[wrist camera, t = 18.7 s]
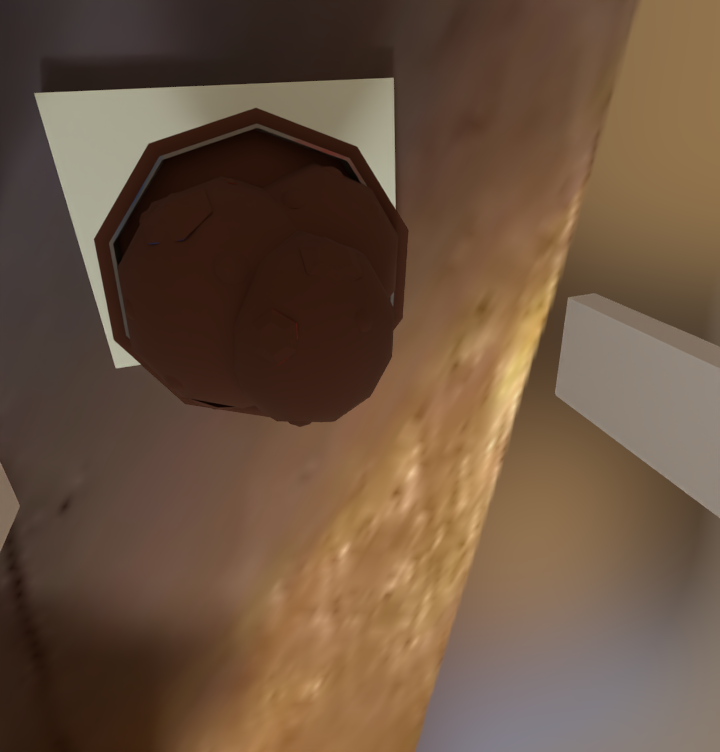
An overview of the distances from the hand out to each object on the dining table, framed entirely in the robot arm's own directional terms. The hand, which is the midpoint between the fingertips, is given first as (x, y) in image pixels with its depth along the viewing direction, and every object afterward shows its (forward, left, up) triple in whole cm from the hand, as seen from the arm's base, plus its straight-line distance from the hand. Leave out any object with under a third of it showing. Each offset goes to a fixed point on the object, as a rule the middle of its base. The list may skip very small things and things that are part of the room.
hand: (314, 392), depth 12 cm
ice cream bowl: (0, 0, -18) cm, 18 cm away
